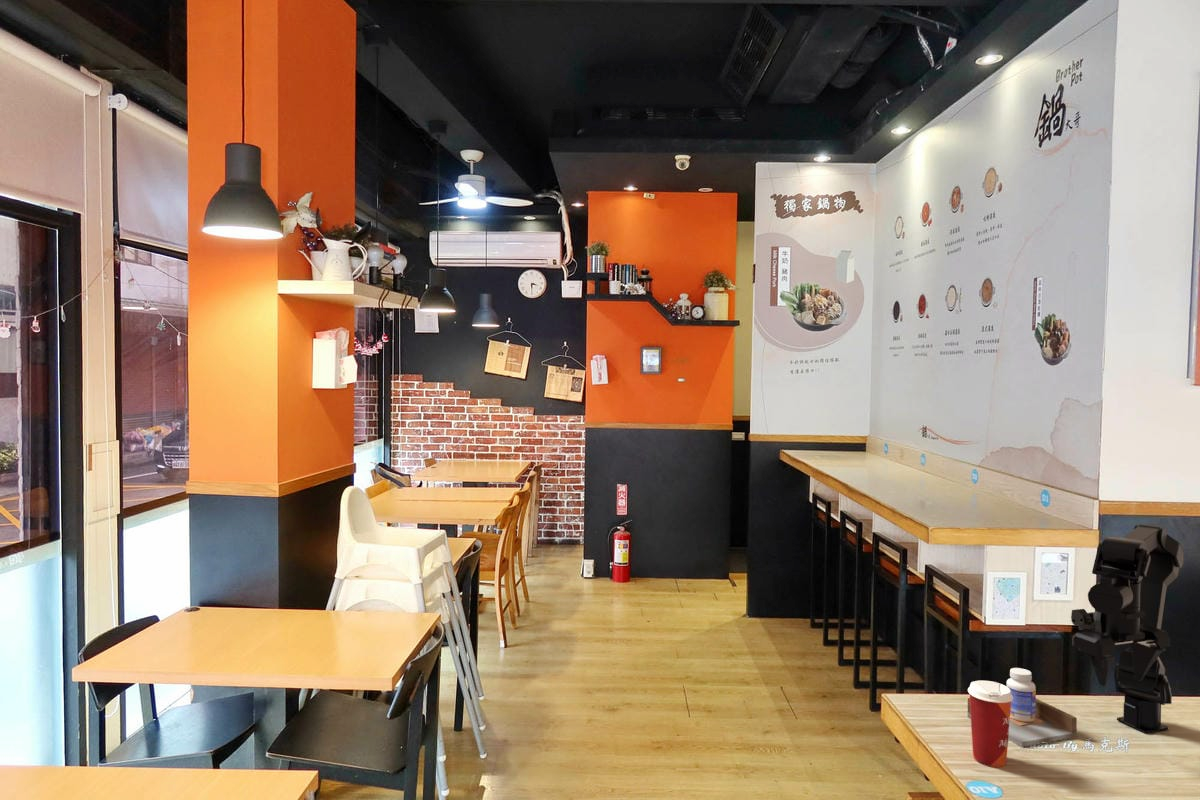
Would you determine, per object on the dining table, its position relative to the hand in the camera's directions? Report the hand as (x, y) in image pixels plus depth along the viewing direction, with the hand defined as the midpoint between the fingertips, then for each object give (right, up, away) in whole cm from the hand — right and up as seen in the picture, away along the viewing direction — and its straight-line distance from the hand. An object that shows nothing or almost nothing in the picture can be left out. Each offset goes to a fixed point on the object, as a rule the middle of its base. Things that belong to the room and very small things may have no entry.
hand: (1120, 682), depth 146 cm
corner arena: (-14, -13, +9) cm, 21 cm away
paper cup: (-28, -13, -4) cm, 31 cm away
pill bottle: (-13, -12, +11) cm, 21 cm away
